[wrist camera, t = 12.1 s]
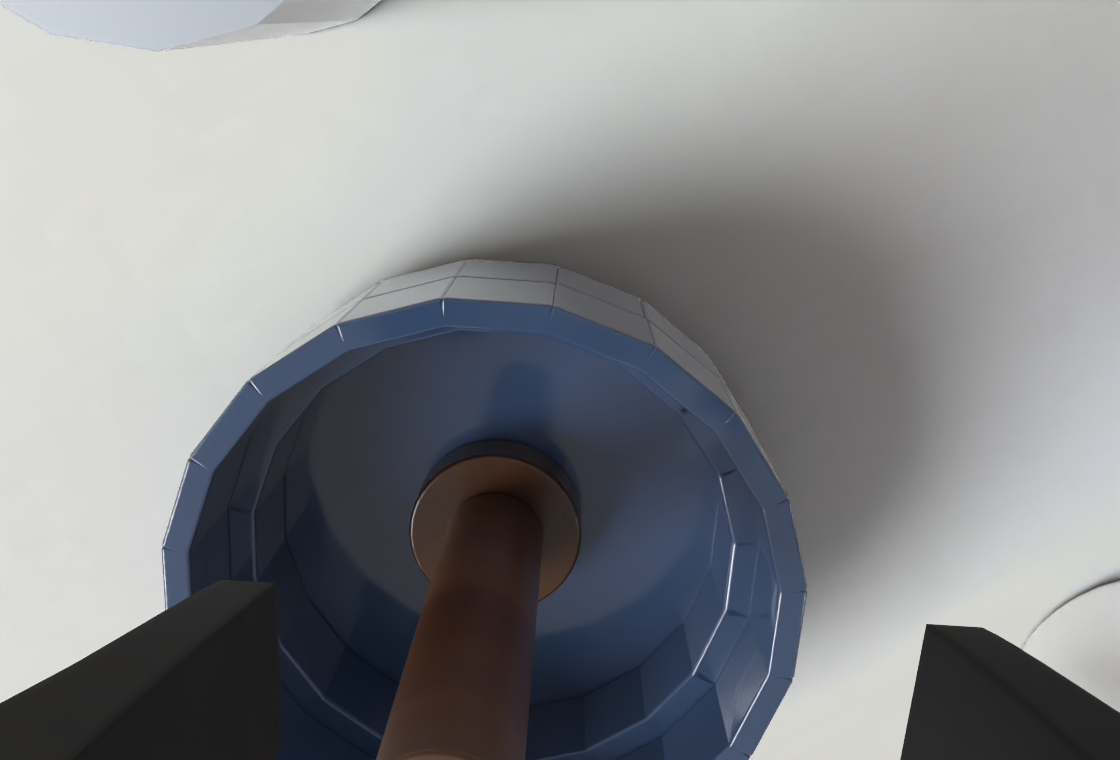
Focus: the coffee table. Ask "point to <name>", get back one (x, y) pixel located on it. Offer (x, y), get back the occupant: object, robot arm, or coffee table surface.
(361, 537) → the bowl
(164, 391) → the coffee table surface
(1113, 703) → the beer glass
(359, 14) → the white cylinder
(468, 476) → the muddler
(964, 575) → the coffee table surface
